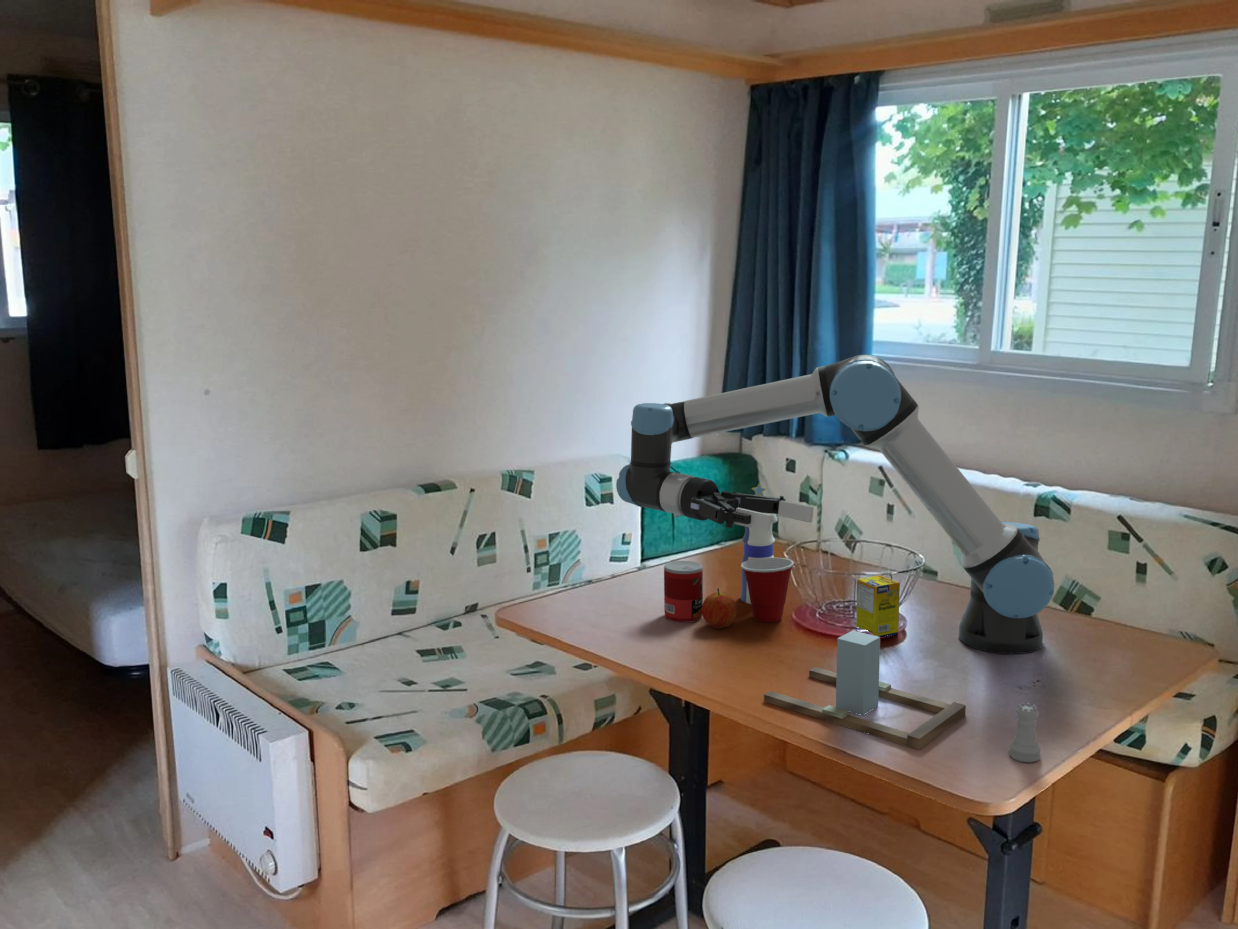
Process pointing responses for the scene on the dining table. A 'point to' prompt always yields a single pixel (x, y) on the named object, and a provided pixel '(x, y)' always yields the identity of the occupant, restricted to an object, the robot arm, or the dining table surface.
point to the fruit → (719, 610)
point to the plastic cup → (767, 586)
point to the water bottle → (756, 546)
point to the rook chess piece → (1025, 735)
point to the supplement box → (878, 605)
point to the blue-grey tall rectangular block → (857, 672)
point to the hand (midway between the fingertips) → (791, 519)
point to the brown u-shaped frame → (915, 739)
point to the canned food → (683, 591)
